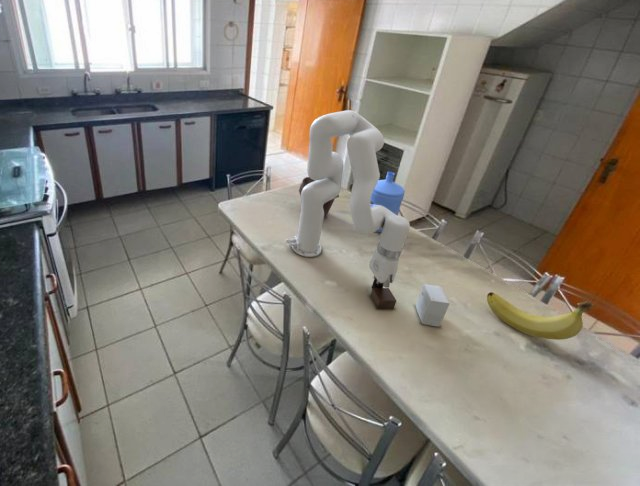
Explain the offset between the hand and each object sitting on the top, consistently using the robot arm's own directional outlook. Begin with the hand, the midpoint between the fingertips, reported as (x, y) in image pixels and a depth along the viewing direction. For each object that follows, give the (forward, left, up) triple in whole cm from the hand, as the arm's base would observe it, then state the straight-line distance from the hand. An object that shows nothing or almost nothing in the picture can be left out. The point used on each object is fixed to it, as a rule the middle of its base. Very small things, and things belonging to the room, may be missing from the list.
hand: (376, 289), depth 120 cm
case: (-9, +55, -1) cm, 55 cm away
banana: (+42, -16, -1) cm, 45 cm away
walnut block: (0, -5, -1) cm, 5 cm away
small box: (+13, -11, -1) cm, 17 cm away
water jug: (+20, +46, -1) cm, 50 cm away
